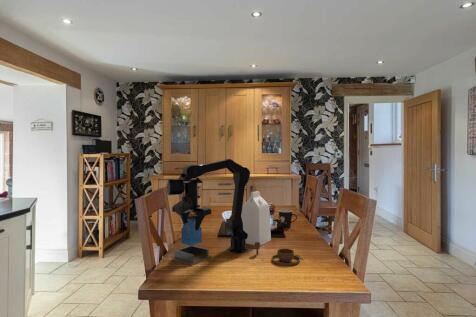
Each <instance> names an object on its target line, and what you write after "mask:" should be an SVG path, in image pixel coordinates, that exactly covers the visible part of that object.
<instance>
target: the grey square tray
mask: <svg viewBox="0 0 476 317" xmlns="http://www.w3.org/2000/svg"><path fill="white" fill-rule="evenodd" d="M173 252H174V255H173V257H171V260H172V261H173V262H177V263H181V264H185V265H187V266H192V267H193V266H195V265H197V264H199V263H202V262H204V261H207V260H209V259H212V255H210V254H209V248H206V247H201V246H197V245H193V246H189V245H186V246H184V247H181V248H178V249H176V250H174V251H173Z"/></svg>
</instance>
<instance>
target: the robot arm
mask: <svg viewBox="0 0 476 317" xmlns="http://www.w3.org/2000/svg"><path fill="white" fill-rule="evenodd" d="M224 169H227V170H228V172H230V173H231V174H233V175H232V178H233V179H232V180H233V182H234V191H233V197H232V198H233V199H232V205H231V206H232V207H231V214H230V217H229V218H226V220H225V225H224V227H225V230H226V232H227V233H228V234H229V236H230V237H231V239H230V249H228V250H229V251H228V252H232V253H237V254H241V253H244V252H246V251H248V248H247V247H246V246H247V245H246V239H247V237H248V234H247V233H246V232H245V231H244V230H243V221H242V218H241V217H242V206H243V205H244V204H243V203H244V197H245V189H246V186H247V185H248V182H249V181H250V177H251V171H250V169H249V168H247V167H246V166H245V167H244V166H243V165H241V164H239V163H238V162H236V161H234V160H233V159H231V158H225V159H222V160H217V161H214V162H213V161H212V162H209V163H204V164H187V165H184V167H183V169H182V173H181V175H180V176H179V177H178V178H175V179H174V178H173V179H172V178H168V179H167V183H166V186H165V189H166V194H167V196H177V195H178V196H179V195H182V194H184V195H182V198H181V200H180V201H178V202H176V204H173V206H172V208H171V209H172V210H171V211H172V212H174V213H176V215H178V216H179V217H180V219H181V220H182V223H183V225H184V224H185V223H188V221H187V219H188V215H191V214H190V213H195V215H194V214H192V215H193V217H194V218H195V228H196V231H197V230H198V229H199V227H201V225H202V222H203V220H204V219H205V217H206V216H209V215H212V208H211V207H209V206H201V205H200V204H199V199H200V197H201V195H198V194H199V192H198V191H199V189H198V187H199V184H203V181H202V180H201V179H200V178H199V177H202V176H203V175H204V174H207V173H210V172H211V173H212V172H216V171H219V170H224Z"/></svg>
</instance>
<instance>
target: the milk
mask: <svg viewBox="0 0 476 317" xmlns="http://www.w3.org/2000/svg"><path fill="white" fill-rule="evenodd" d="M260 192H261V191H258V190H257V191H251V193H250V198H248V200H247V201H246V202H245V203H244V204H243V206H242V214H241V218H242V221H243V230H244V231H245V232H246V233H247V234H248V237H247V239H246V244H247V245H251V246H252V245H253V246H255V242H259V243H260V246H263V245H265V244H266V243H268V242H270V241H271V240H272V238H271V237H272V236H271V234H272V233H271V232H272V231H271V214H270V213H271V212H270V205H269V203H268V202H267V201H266V200H265V199H264V198H263V197H262V196H261V193H260Z"/></svg>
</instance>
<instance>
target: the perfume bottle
mask: <svg viewBox="0 0 476 317" xmlns="http://www.w3.org/2000/svg"><path fill="white" fill-rule="evenodd" d="M193 215H194V214H190V215H188V219H187V221H188V223H185V224H183V225H182V228H181V229H180V232H181V233H180V234H181V242H180V243H181V244H182V245H185V246H193V245H194V246H197V245H199V244H202V243H203V242H202V241H203V240H202V239H203V238H202V236H203V235H202V234H203V232H202V231H203V229H202V227H201V226H200V227H199V229H198V230H197V231H196V228H195V218H194V217H193Z"/></svg>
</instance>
